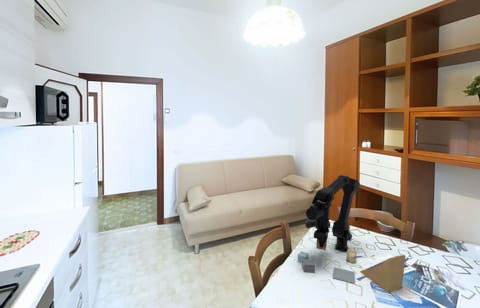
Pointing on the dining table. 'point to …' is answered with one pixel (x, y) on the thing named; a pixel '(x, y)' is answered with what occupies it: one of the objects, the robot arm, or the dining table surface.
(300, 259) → the teal block
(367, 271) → the sandwich container
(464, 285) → the dining table surface
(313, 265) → the charcoal block
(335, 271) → the felt pad
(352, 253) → the beech cylinder
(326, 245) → the walnut block
